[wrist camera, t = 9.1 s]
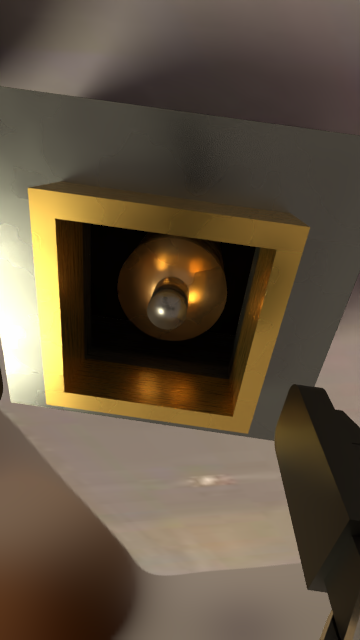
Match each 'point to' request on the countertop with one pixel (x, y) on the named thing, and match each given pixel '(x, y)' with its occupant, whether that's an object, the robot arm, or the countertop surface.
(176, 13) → the countertop surface
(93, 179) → the grey boxy block
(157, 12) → the countertop surface
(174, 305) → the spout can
